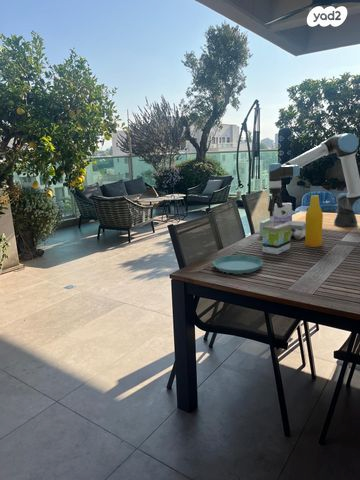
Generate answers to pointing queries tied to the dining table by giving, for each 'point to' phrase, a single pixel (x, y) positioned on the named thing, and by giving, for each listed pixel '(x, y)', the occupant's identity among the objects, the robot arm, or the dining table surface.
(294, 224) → the stone slab
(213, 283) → the dining table surface
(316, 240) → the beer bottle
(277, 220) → the candy box
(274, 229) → the tea box
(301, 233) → the roller bed
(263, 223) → the block
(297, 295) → the dining table surface
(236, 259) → the saucer
